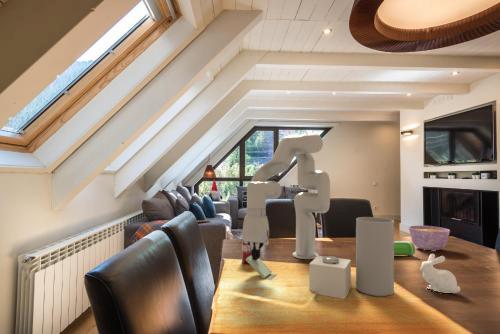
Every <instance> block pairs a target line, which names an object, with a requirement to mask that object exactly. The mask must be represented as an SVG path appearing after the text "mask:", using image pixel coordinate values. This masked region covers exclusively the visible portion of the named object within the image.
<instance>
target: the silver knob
mask: <svg viewBox="0 0 500 334" xmlns="http://www.w3.org/2000/svg"><path fill="white" fill-rule="evenodd" d="M339 258H340V257H337V256H331V255H330V256H329V255H328V256H327V255H326V256H324V257H323V258H322V261H323V262H324V263H328V264H337V263H339Z"/></svg>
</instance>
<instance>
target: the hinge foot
mask: <svg viewBox="0 0 500 334" xmlns="http://www.w3.org/2000/svg"><path fill="white" fill-rule="evenodd" d="M277 276H278V274H277V273H276V274H275V273H271V274H270V275H268V276H267V277H266V280H270V281H271V280H273V279H274V278H276V277H277Z"/></svg>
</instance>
